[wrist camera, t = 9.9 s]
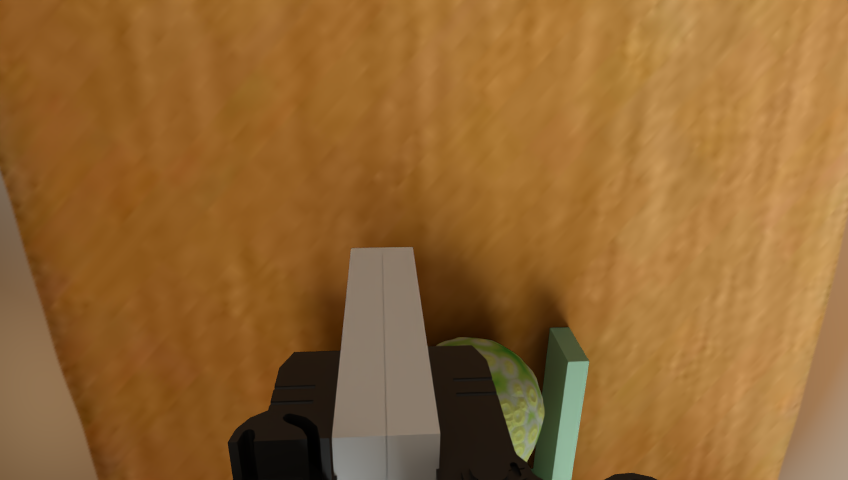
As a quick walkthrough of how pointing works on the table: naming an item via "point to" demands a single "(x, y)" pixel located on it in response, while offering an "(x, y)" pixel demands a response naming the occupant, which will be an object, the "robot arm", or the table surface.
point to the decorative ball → (512, 392)
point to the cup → (561, 406)
